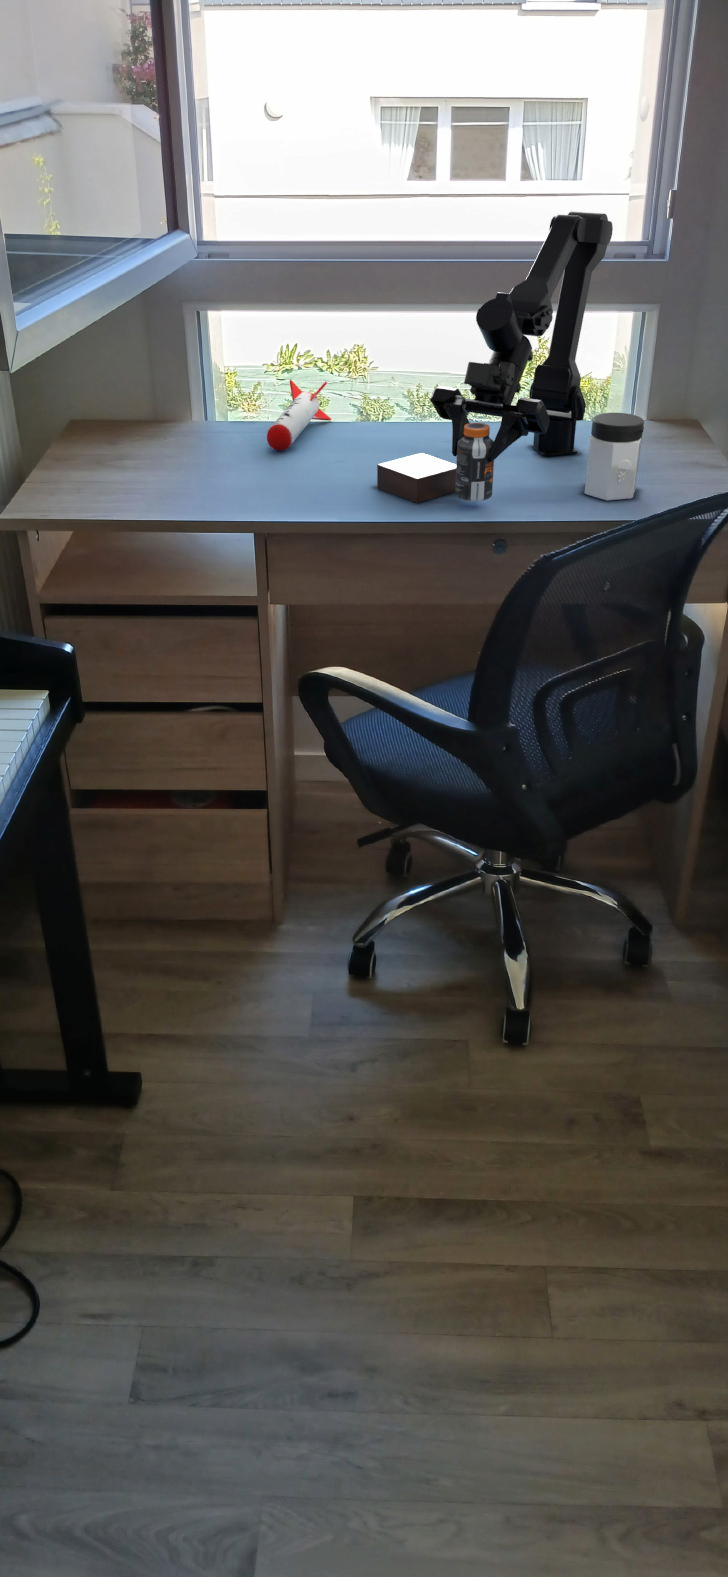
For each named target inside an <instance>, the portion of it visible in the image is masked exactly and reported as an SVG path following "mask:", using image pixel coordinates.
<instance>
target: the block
mask: <svg viewBox="0 0 728 1577" xmlns="http://www.w3.org/2000/svg"><path fill="white" fill-rule="evenodd" d="M376 467H377V468H376V471H377V473H376V476H377V477H376V480H377V482H376V487H377V489H380V490H381V491H384V492H386V493H390V494H393V495H395V496H397V497H399V498H403V499H405V500H408V501H409V502H413V503H415V504H419V503H422V502H426V501H428V500H433V499H437V498H439V497H443V496H446V495H449V494H452V493H453V494H454V493H455V491H456V463H453V462H450V461H448V460H444V459H441V458H438V457H435V456H433V455H430V454H426V453H424V452H420V453H416V454H412V455H408V456H405V457H400V458H396V459H393V460H389V461H385V462H382V463H381V462H380V463H378V464H377V465H376Z"/></svg>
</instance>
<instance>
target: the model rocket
mask: <svg viewBox="0 0 728 1577" xmlns="http://www.w3.org/2000/svg"><path fill="white" fill-rule="evenodd" d="M327 384H328V382H327V381H325V382H323V384H322V385H321V386H320V387H319V388H318V389H317V390H316V392H315V393H313V392H312V391H302V390H301V389H300V388H299V387H298V385H296V383H295V382H294V381H293V380H292V379H290V380H289V386H290V392H291V399H292V402H290V404H289V405H288V406H287V407H286V409H285V410H284V411H283V412H282V414H280V415H279V417H278V418H277V419H276V420H275V421H274V423H272V425H271V426H270V427H269V429H268V430H267V432H266V441H267V443H268V446H269V447H270V448H271V449H273V450H275V451H277V452H283V451H285V450H288V449H289V448H290V447H291V446H292V444H293V443H294V442H295V441H296V439H297V438H298V437H299V436H300V434H301V433H302V432H303V431H304V429H305V428H306V427H307V425H309V423H310V422H311V420H314V421H328V422H329V421H330V422H331V421H332V418H331V417H330V416H329V415H328V414H326V413H325V412H324V411H323V410H321V409H320V401H319V398H318V397H317V396H318V395H319V394H320V393H321V391H322V390H323V389H324V388H325V387H326V385H327Z"/></svg>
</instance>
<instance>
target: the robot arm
mask: <svg viewBox="0 0 728 1577" xmlns="http://www.w3.org/2000/svg"><path fill="white" fill-rule="evenodd" d="M613 227H614V226H613V221H611V220H609V217H608V215H607V213H602V212H584V211H569V212H568V213H567V214H557V215H554V216H552V218H551V219H550V224H549V229H548V230H549V231H548V234H547V236H546V238H545V240H544V242H543V244H542V245H541V247H540V249H539V252H538V254H537V256H536V258H535V260H534V263H533V264H532V266H531V269H530V270H529V272H528V275H527V276H526V278H525V280H523V281H522V282H519V283H518V284H517V285H514V287H512V289H511V291H510V292H509V293H508V292H496V294H495V297H494V298H492V299H490V300H487V301H486V302H484V304H482V305H481V307H480V308H478V309H477V311H476V316H475V321H476V325H477V326H478V328H479V330H480V333H481V335H482V338H483V339H484V342H485V344H486V347H488V349H490V350H491V351H492V352H491V355H490V358H489V360H488V362H484V363H482V362H481V363H480V362H476V361H475V362H474V361H468V363H467V367H466V372H465V377H464V381H463V384H464V385H469V386H470V389H469V391H470V392H469V393H471V395H472V396H474V399H472V398H466V397H464V396H463V395H462V393H461V390H460V389H459V388H456V387H449V386H441V385H439V386H437V387H435V388H434V389H433V391H432V393H431V396H430V398H429V401H430V402H431V405H432V406H433V408H434V409H435V411H436V413H437V415H438V416H439V417H440V419H443V420H448V421H451V425H452V427H451V428H452V431H451V432H452V434H451V435H452V437H451V439H452V440H451V441H452V442H451V444H452V445H451V454H452V456H453V457H457V444H458V441H459V440H460V439H461V438H462V437H464V426H465V425H466V424H469V423H471V422H470V421H469V418H468V416H469V414H470V413H471V414H480V415H486V416H492V417H499V418H501V420H500V426H499V429H498V431H497V433H496V435H495V438H494V440H493V441H494V442H493V445H492V447H491V450H490V453H489V456H488V460H489V462H493V461H494V462H495V460H497V458H498V457H499V456H500V455H501V454H502V453H503V452H505V451H506V450H507V449H508V448H509V447H510V446H512V444H514V443H515V442H516V441H518V440H519V439H520V438H521V437H527V436H528V435H529V433H532V434H533V440H532V442H533V443H532V444H531V447H532V448H533V449H534V450H535V451H537V452H538V453H539V454H541V455H542V456H543V457H554V456H555V457H556V456H566V455H576V454H578V450H577V449H576V448H575V439H576V431H577V430H576V428H577V422H580V421H584V416H585V413H586V408H587V404H586V401H585V400H586V399H585V397H584V395H583V392H582V389H581V381H582V376H581V374H580V371H579V368H578V365H577V362H576V359H577V358H576V357H577V353H578V348H579V342H580V338H581V337H580V336H581V331H582V326H583V323H584V322H583V321H584V316H585V312H586V311H585V310H586V305H587V301H588V295H589V289H590V285H591V279H592V276H593V274H592V273H593V271H594V270H595V269H596V268H597V266H598V265H599V264H600V263H601V262H602V261H603V259H604V258H605V256H606V253H607V248H608V245H609V244H610V242H611V240H612V236H613V229H614V228H613ZM561 278H562V280H561ZM560 280H561V285H560V291H559V295H558V303H557V307H556V312H555V317H554V323H553V329H552V334H551V340H550V344H549V345H550V346H549V351H548V356H547V357H546V358H545V359H544V360H543V362H542V363H541V364H538V365H536V367H535V369H534V375H533V376H534V377H533V380H532V383H531V384H530V388H529V393H528V396H529V398H528V397H520V398H517V402H516V404H515V405H513V404H512V403H513V401H514V398H515V395H516V394H517V393H518V394H520V392H521V389H522V386H521V383H520V382H521V379H522V377H523V374H524V372H525V369H526V366H527V364H528V362H532V361H533V359H534V354H533V351H532V350H533V346H532V344H531V340H529V338H528V336H531V337H542V336H543V335H545V333H546V332H547V330H548V329H550V326H551V323H552V322H553V313H554V308H553V304H552V298H553V295H554V293H555V291H556V289H557V286H558V285H559V282H560Z"/></svg>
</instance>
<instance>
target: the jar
mask: <svg viewBox="0 0 728 1577" xmlns="http://www.w3.org/2000/svg"><path fill="white" fill-rule="evenodd" d="M644 424H645V420H644V419H643V418H642V417H640V416H639V415H636V414H632V413H627V412H626V413H625V412H604V413H599V414H596V415H594V417H592V423H591V432H590V434H591V436H590V438H589V446H588V456H587V465H586V466H587V467H586V476H585V486H584V494H585V496H590V497H593V498H596V499H600V500H602V501H606V502H607V501H619V500H630V499H633V498H634V495H635V491H636V488H637V481H638V480H637V479H638V473H639V464H640V456H641V449H642V441H643V433H644V427H645V425H644Z"/></svg>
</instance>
